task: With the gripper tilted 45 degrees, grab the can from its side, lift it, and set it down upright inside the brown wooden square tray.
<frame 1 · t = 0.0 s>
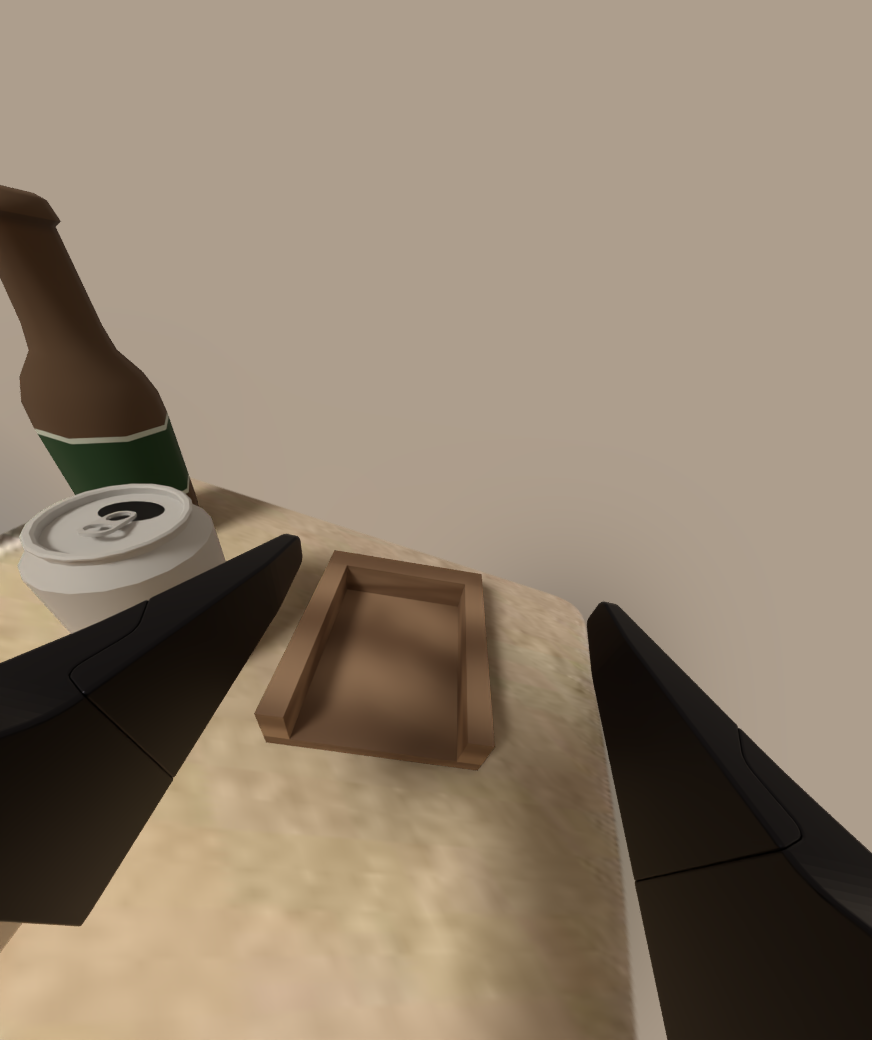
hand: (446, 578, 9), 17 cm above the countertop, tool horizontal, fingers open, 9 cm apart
brown wooden square tray: (392, 656, 24), on the countertop
can: (188, 647, 23), on the countertop
beer bottle: (158, 528, 31), on the countertop
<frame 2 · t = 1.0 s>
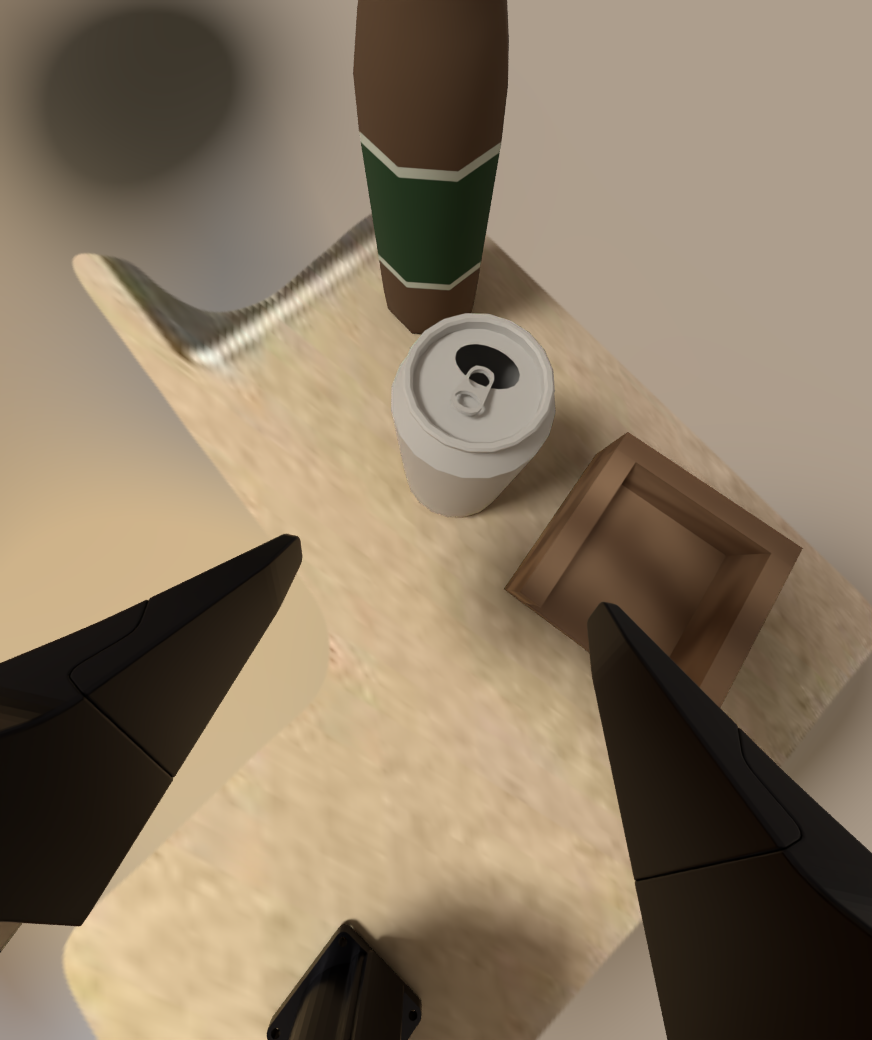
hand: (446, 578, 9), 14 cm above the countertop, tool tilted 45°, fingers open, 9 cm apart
brown wooden square tray: (624, 570, 23), on the countertop
can: (454, 473, 24), on the countertop
beer bottle: (430, 302, 27), on the countertop
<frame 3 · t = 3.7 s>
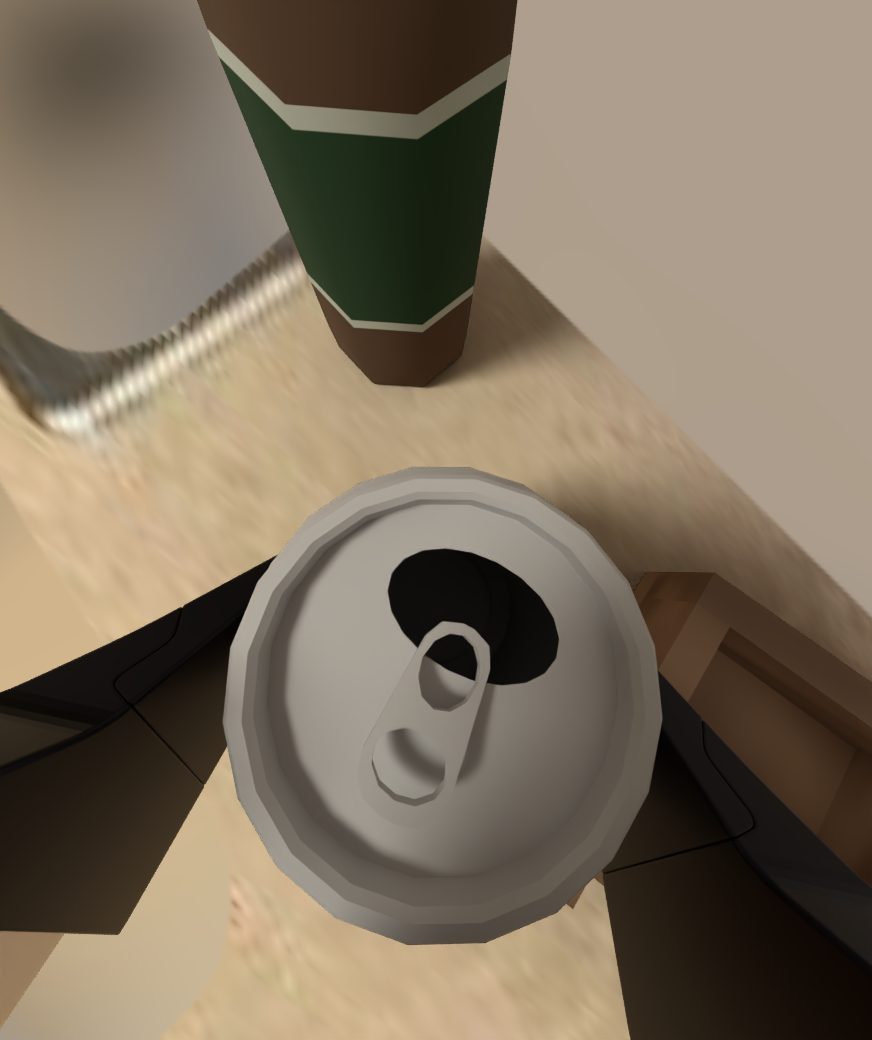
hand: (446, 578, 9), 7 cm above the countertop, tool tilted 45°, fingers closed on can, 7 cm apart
brown wooden square tray: (692, 762, 15), on the countertop
can: (433, 601, 16), on the countertop, touching gripper
beer bottle: (403, 336, 19), on the countertop
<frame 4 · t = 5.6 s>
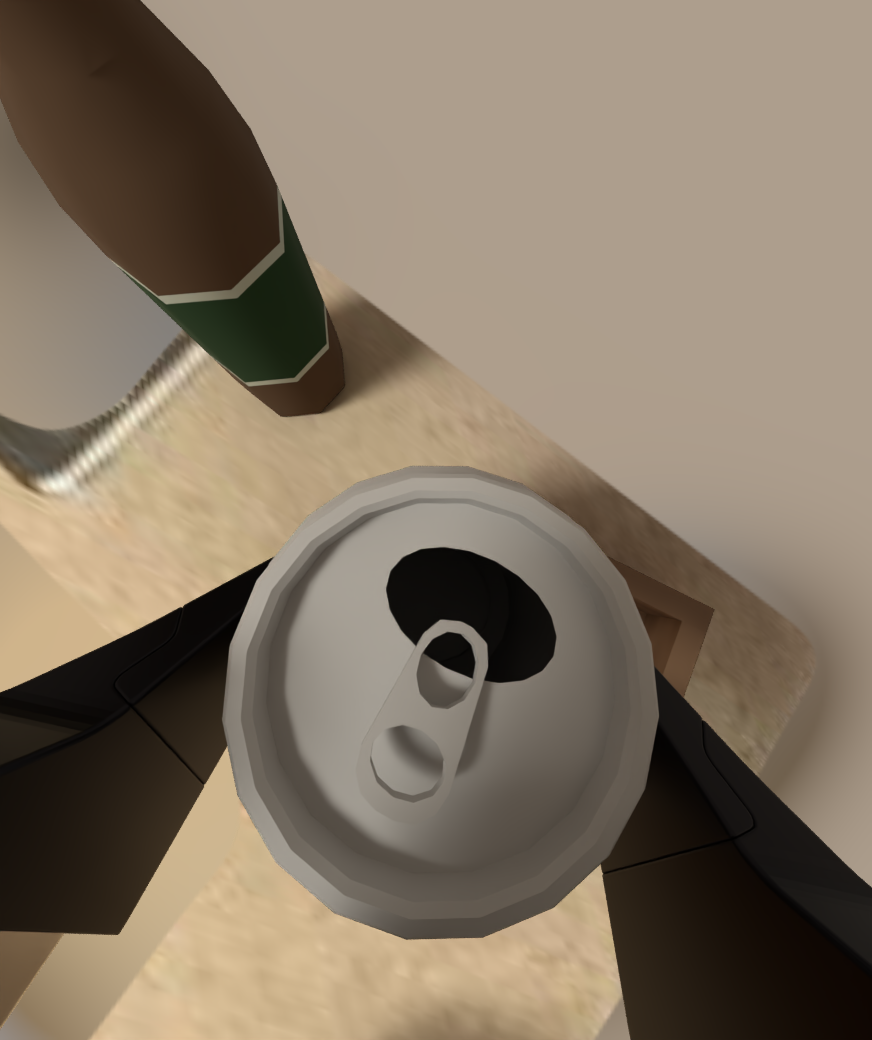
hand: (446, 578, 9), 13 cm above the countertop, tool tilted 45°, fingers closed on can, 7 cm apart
brown wooden square tray: (545, 644, 22), on the countertop
can: (432, 600, 16), point 6 cm above the countertop, touching gripper
beer bottle: (300, 376, 24), on the countertop
when the fingers open (9 cm above the countertop, at t = 7.7 s): can drops 1 cm, resting on brown wooden square tray.
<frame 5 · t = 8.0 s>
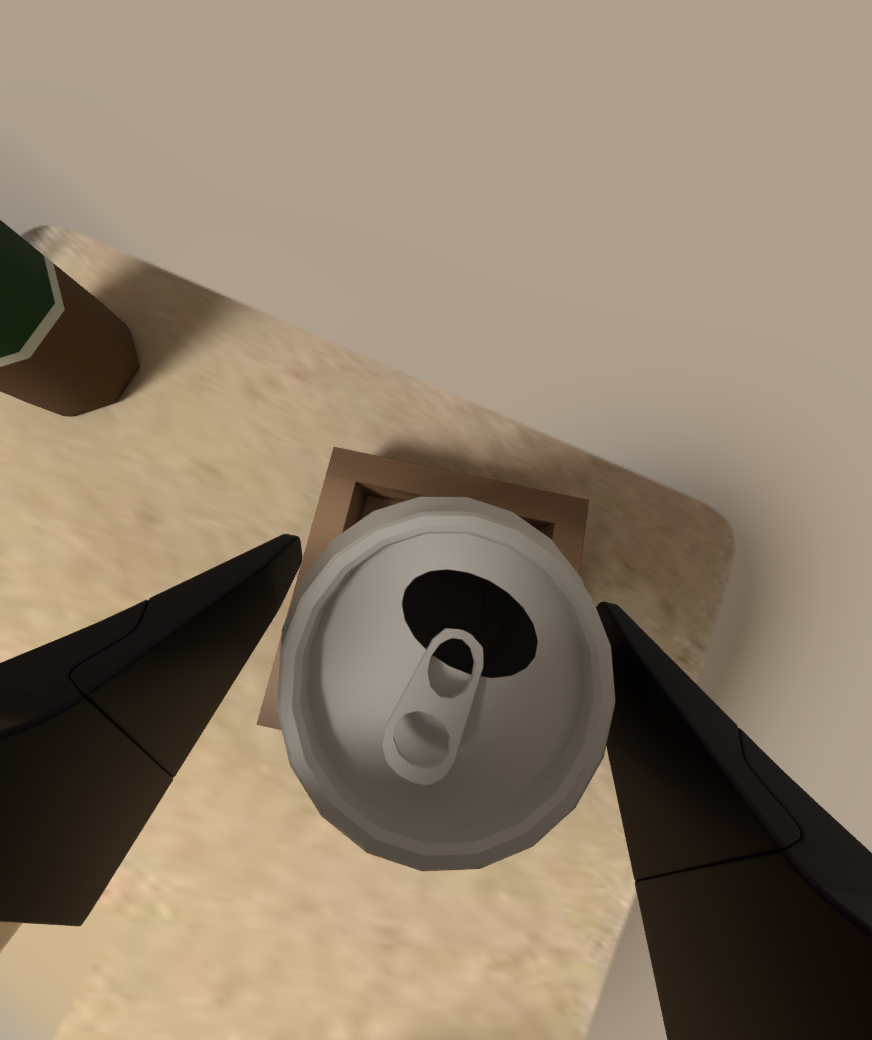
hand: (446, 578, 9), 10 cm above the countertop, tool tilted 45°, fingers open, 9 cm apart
brown wooden square tray: (432, 597, 18), on the countertop
can: (432, 602, 17), point 1 cm above the countertop, touching brown wooden square tray
beer bottle: (86, 367, 20), on the countertop
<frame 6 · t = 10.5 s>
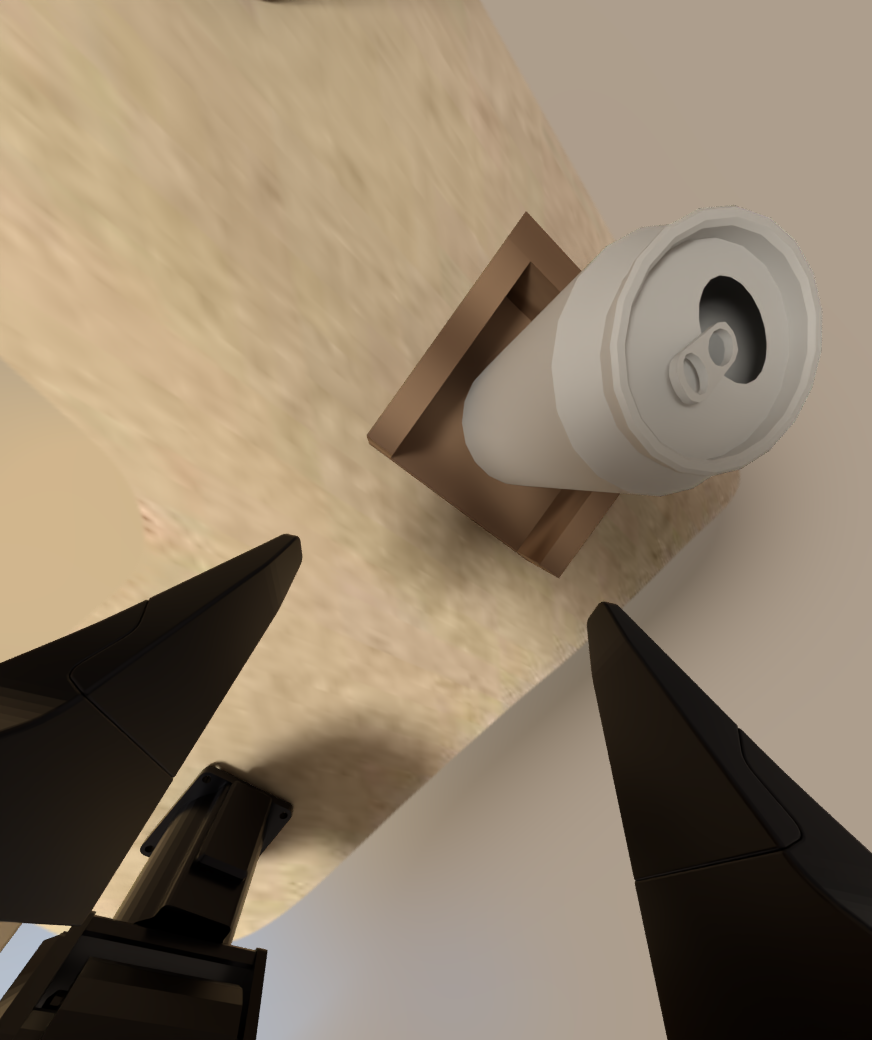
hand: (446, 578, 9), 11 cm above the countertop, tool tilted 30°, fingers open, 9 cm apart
brown wooden square tray: (512, 424, 20), on the countertop
can: (515, 424, 19), point 1 cm above the countertop, touching brown wooden square tray
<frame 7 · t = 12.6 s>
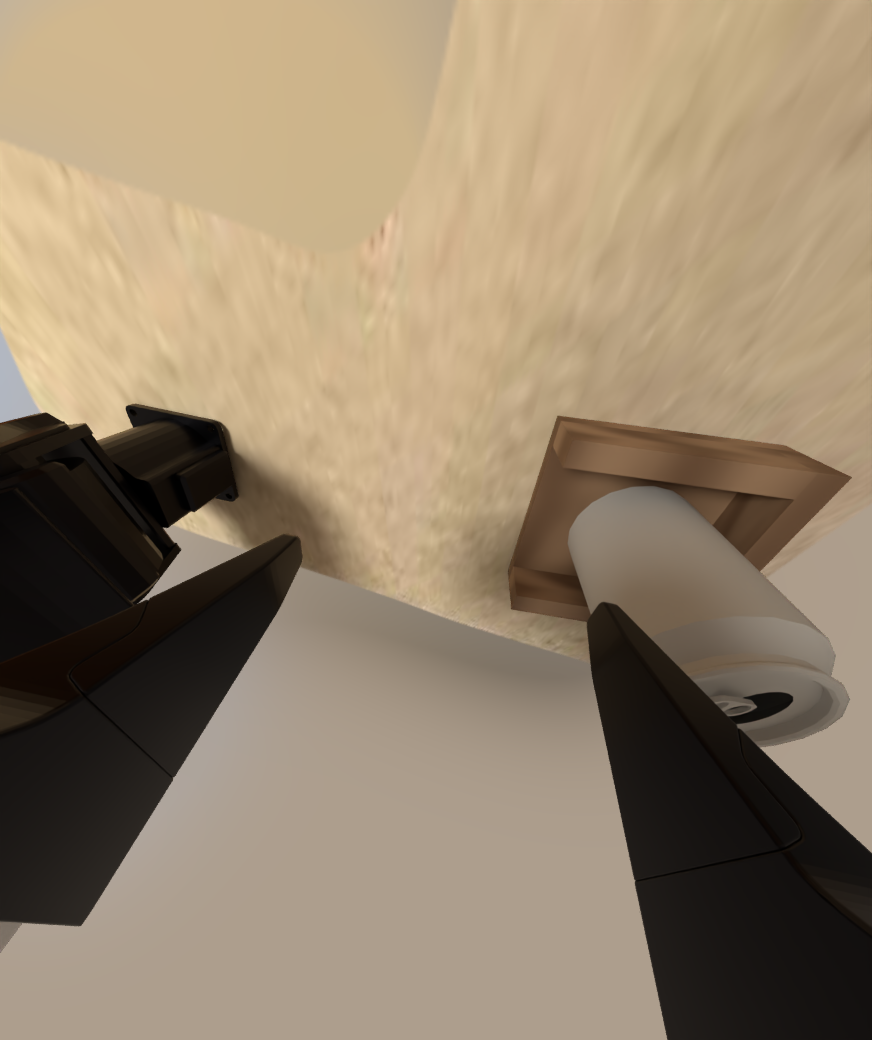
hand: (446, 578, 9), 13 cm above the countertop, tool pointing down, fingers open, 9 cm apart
brown wooden square tray: (620, 520, 22), on the countertop
can: (622, 526, 21), point 1 cm above the countertop, touching brown wooden square tray
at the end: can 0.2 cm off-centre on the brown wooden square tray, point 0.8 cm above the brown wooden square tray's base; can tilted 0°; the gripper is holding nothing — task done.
